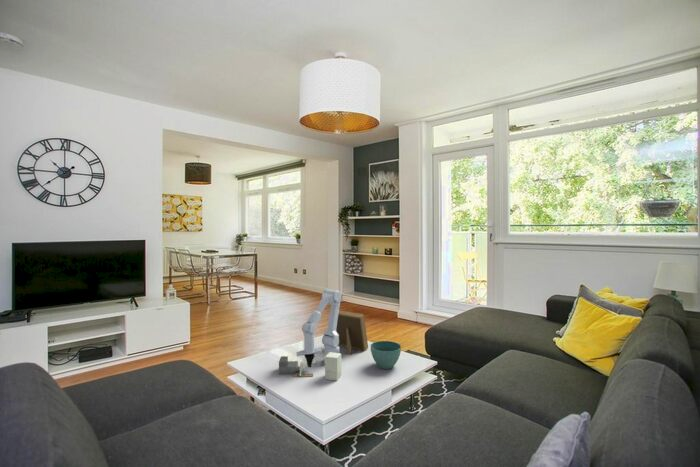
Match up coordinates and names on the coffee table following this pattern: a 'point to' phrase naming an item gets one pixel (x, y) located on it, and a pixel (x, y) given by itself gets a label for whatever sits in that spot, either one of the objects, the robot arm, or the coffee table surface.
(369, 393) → the coffee table surface
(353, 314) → the photo frame
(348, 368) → the coffee table surface
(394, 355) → the teal rounded bowl
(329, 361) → the supplement box
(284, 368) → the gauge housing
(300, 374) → the gauge plunger
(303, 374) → the gauge scale
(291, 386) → the coffee table surface
